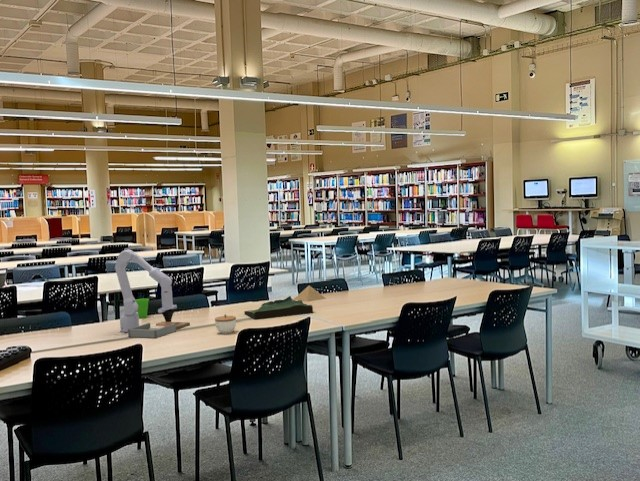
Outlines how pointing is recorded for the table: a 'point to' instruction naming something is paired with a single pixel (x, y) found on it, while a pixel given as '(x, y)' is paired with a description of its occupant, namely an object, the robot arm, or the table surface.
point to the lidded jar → (225, 324)
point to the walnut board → (180, 324)
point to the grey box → (150, 331)
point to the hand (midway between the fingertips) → (168, 323)
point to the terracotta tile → (163, 323)
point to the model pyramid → (309, 295)
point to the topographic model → (280, 309)
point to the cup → (142, 307)
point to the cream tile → (156, 327)
